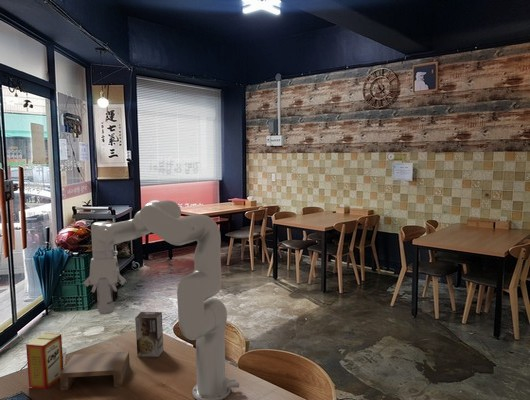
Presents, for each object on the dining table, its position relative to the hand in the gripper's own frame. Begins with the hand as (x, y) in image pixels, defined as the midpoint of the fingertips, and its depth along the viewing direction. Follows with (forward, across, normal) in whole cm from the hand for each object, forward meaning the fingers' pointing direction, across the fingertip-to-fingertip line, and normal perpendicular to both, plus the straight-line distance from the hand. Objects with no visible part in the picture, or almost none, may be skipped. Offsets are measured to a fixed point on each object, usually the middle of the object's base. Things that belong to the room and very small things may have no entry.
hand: (105, 300), depth 164 cm
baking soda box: (+24, +18, +13) cm, 33 cm away
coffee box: (+25, -15, -5) cm, 29 cm away
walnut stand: (+24, +1, +12) cm, 27 cm away
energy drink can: (+5, 0, 0) cm, 5 cm away
